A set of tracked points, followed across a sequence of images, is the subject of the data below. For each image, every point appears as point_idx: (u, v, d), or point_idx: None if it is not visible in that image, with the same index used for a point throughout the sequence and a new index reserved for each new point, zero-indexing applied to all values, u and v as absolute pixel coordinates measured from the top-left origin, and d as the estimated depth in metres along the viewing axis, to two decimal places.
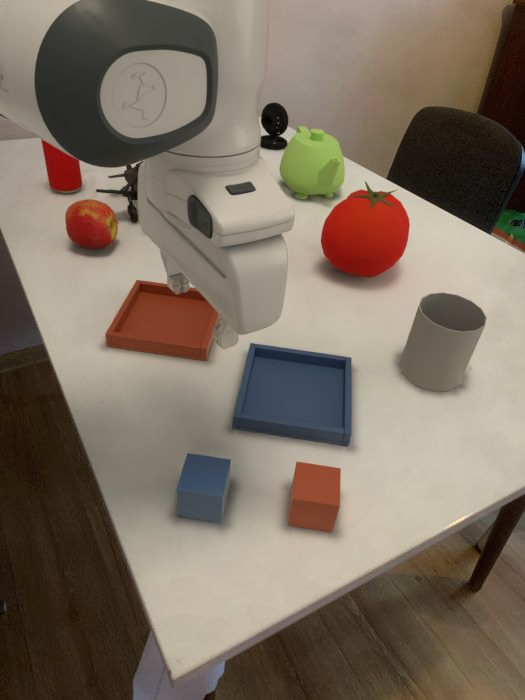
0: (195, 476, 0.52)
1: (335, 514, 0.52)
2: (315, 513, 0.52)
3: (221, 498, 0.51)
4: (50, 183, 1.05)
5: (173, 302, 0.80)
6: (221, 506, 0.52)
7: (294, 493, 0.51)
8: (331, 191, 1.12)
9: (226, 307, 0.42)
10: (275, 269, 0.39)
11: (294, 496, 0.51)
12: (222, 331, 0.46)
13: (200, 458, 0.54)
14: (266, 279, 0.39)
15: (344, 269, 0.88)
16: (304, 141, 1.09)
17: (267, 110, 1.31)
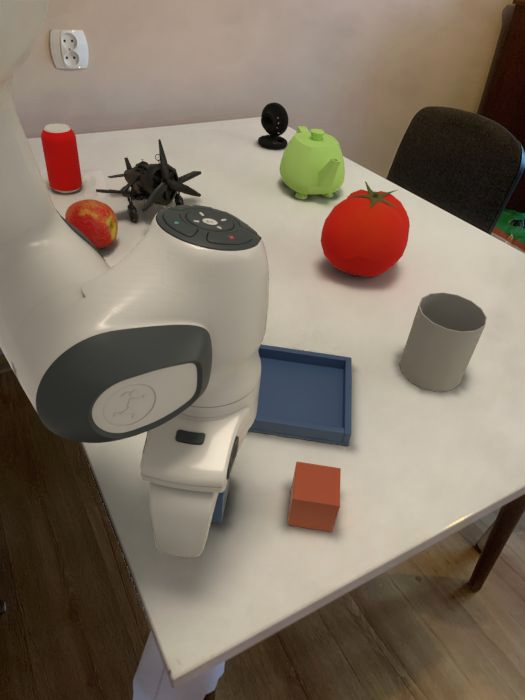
0: None
1: (335, 514, 0.52)
2: (315, 513, 0.52)
3: (221, 498, 0.51)
4: (50, 183, 1.05)
5: None
6: (221, 506, 0.52)
7: (294, 493, 0.51)
8: (331, 191, 1.12)
9: None
10: (192, 519, 0.40)
11: (294, 496, 0.51)
12: None
13: None
14: (181, 522, 0.41)
15: (344, 269, 0.88)
16: (304, 141, 1.09)
17: (267, 110, 1.31)
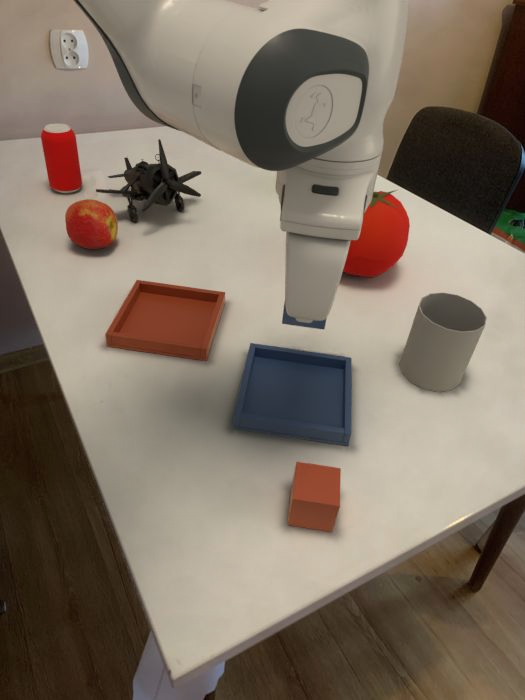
0: None
1: (335, 514, 0.52)
2: (315, 513, 0.52)
3: None
4: (50, 183, 1.05)
5: (173, 302, 0.80)
6: None
7: (294, 493, 0.51)
8: None
9: None
10: (327, 268, 0.43)
11: (294, 496, 0.51)
12: None
13: None
14: (316, 273, 0.43)
15: (344, 269, 0.88)
16: None
17: None
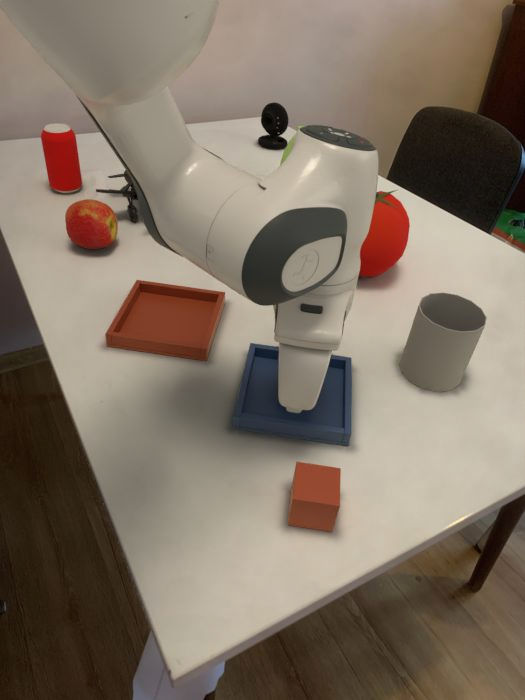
0: None
1: (335, 514, 0.52)
2: (315, 513, 0.52)
3: None
4: (50, 183, 1.05)
5: (173, 302, 0.80)
6: None
7: (294, 493, 0.51)
8: None
9: None
10: (313, 372, 0.52)
11: (294, 496, 0.51)
12: None
13: None
14: (303, 376, 0.52)
15: None
16: None
17: (267, 110, 1.31)
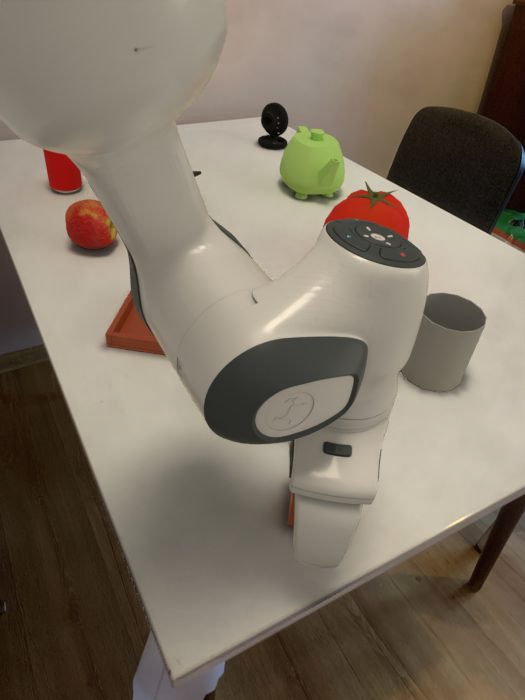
0: None
1: None
2: None
3: None
4: (50, 183, 1.05)
5: None
6: None
7: (294, 493, 0.51)
8: (331, 191, 1.12)
9: None
10: (339, 531, 0.41)
11: (294, 496, 0.51)
12: None
13: None
14: (327, 534, 0.41)
15: None
16: (304, 141, 1.09)
17: (267, 110, 1.31)
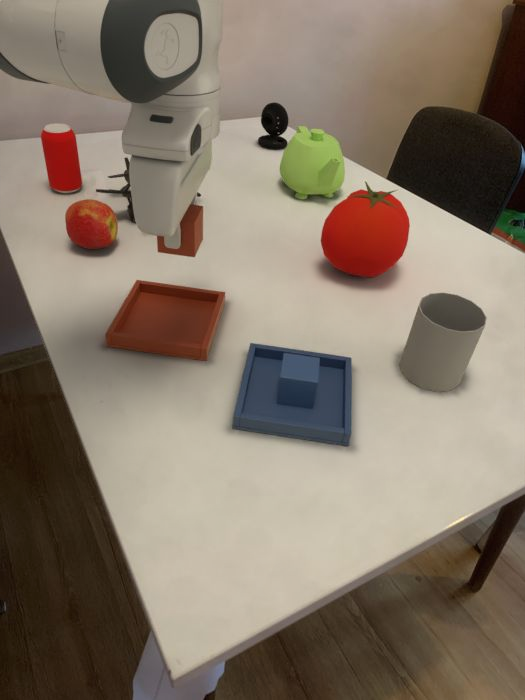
0: (293, 368, 0.64)
1: (193, 234, 0.62)
2: None
3: (316, 384, 0.63)
4: (50, 183, 1.05)
5: (173, 302, 0.80)
6: (315, 392, 0.64)
7: None
8: (331, 191, 1.12)
9: None
10: (163, 186, 0.51)
11: None
12: None
13: (294, 356, 0.66)
14: (154, 190, 0.51)
15: (344, 269, 0.88)
16: (304, 141, 1.09)
17: (267, 110, 1.31)
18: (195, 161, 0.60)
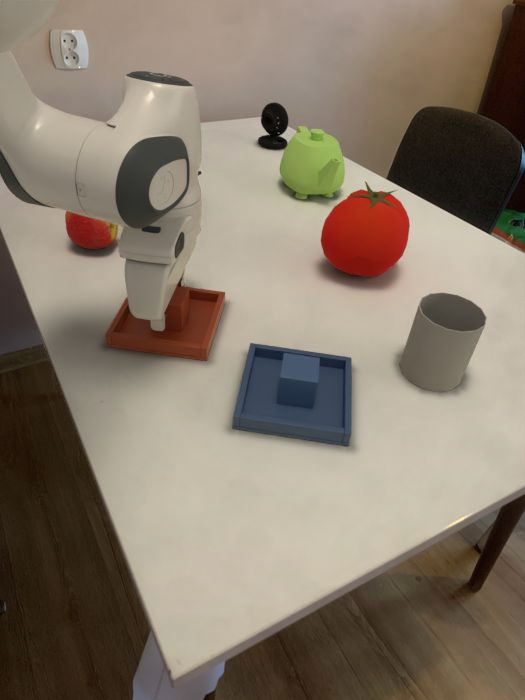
0: (293, 368, 0.64)
1: (180, 314, 0.73)
2: (166, 314, 0.73)
3: (316, 384, 0.63)
4: None
5: None
6: (315, 392, 0.64)
7: None
8: (331, 191, 1.12)
9: None
10: (153, 284, 0.61)
11: None
12: None
13: (294, 356, 0.66)
14: (145, 287, 0.62)
15: (344, 269, 0.88)
16: (304, 141, 1.09)
17: (267, 110, 1.31)
18: (180, 250, 0.70)
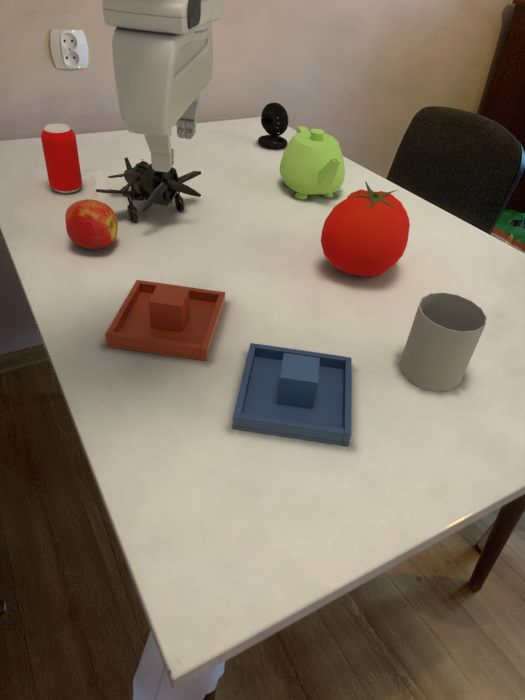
0: (293, 368, 0.64)
1: (180, 314, 0.73)
2: (166, 314, 0.73)
3: (316, 384, 0.63)
4: (50, 183, 1.05)
5: None
6: (315, 392, 0.64)
7: (150, 299, 0.73)
8: (331, 191, 1.12)
9: None
10: (154, 65, 0.41)
11: (150, 300, 0.72)
12: (149, 146, 0.49)
13: (294, 356, 0.66)
14: (144, 71, 0.41)
15: (344, 269, 0.88)
16: (304, 141, 1.09)
17: (267, 110, 1.31)
18: (193, 57, 0.50)
